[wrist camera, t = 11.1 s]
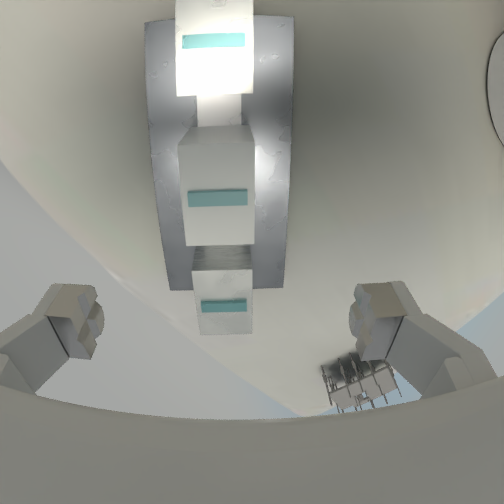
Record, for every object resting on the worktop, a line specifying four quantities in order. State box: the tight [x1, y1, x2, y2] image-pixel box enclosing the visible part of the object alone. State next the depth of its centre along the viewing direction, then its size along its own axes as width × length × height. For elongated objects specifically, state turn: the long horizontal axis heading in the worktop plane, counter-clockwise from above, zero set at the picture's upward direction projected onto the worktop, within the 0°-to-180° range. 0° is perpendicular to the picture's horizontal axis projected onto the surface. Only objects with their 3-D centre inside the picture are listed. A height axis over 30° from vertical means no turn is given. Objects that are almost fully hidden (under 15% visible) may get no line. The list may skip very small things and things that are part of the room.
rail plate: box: [145, 0, 294, 335], centre depth 21 cm, size 10×23×6 cm, turn 0°
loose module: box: [177, 125, 255, 246], centre depth 20 cm, size 4×6×6 cm, turn 0°
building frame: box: [321, 353, 402, 413], centre depth 35 cm, size 6×8×6 cm
